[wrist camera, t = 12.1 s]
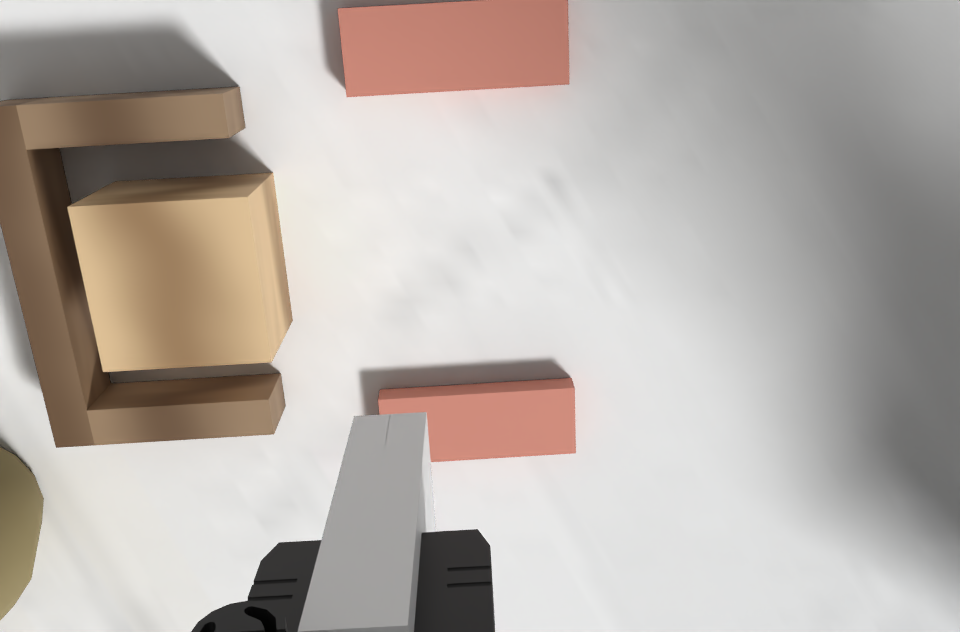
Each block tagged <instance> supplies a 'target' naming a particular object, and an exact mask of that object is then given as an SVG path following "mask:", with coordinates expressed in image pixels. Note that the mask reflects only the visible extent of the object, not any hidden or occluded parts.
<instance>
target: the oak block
mask: <svg viewBox="0 0 960 632" xmlns="http://www.w3.org/2000/svg"><path fill="white" fill-rule="evenodd" d="M67 208H68V213H69V217H70V222H71V226H72V231H73V236H74V240H75V245H76V250H77V254H78V259H79V263H80V268H81V273H82V277H83V282H84V287H85V291H86V296H87V300H88V305H89V310H90V314H91V319H92V324H93V328H94V333H95V337H96V342H97V347H98V351H99V356H100V360H101V365H102V370H103V372H114V371H131V370H149V369H166V368H183V367H201V366H218V365H236V364H253V363H270V362H272V361H273V359H274V357H275V355H276V353H277V351H278V349H279V347H280V345H281V343H282V341H283V339H284V337H285V335H286V333H287V331H288V329H289V327H290V325H291V323H292V321H293V319H292V312H291V304H290V297H289V289H288V282H287V274H286V267H285V259H284V251H283V244H282V236H281V229H280V221H279V214H278V206H277V199H276V191H275V184H274V176H273V173H257V174H239V175H221V176H203V177H185V178H167V179H149V180H131V181H115V182H113V183H111V184H109V185H107V186H105V187H103V188H102V189H100V190H98V191H96V192H94V193H92V194H90V195H89V196H87V197H85V198H83V199H81V200H79V201H77V202H75V203H74V204H72V205H70V206H68V207H67Z"/></svg>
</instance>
